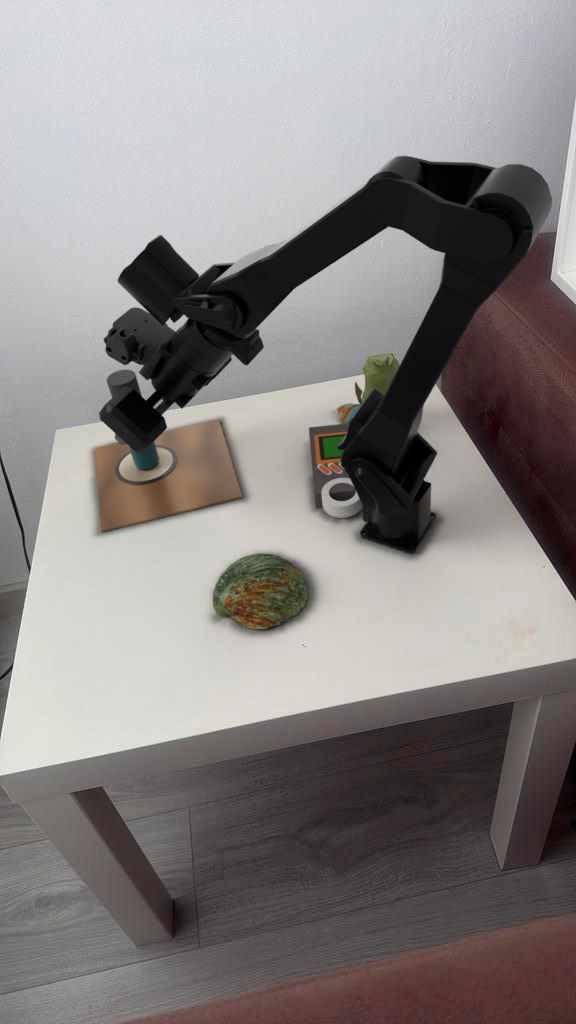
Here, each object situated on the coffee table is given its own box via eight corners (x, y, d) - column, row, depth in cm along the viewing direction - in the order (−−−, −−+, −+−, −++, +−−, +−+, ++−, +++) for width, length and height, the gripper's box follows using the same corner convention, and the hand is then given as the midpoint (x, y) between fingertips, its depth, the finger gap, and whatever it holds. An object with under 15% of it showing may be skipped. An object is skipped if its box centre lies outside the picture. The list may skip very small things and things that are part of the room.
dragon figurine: (397, 438, 91) (388, 384, 94) (343, 432, 89) (335, 377, 92) (375, 463, 97) (367, 412, 100) (323, 458, 94) (317, 406, 98)
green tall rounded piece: (366, 438, 94) (363, 370, 87) (359, 415, 98) (355, 348, 91) (409, 432, 94) (409, 363, 87) (401, 408, 98) (400, 341, 91)
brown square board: (219, 420, 101) (218, 418, 100) (242, 497, 88) (241, 494, 88) (95, 449, 99) (94, 446, 99) (101, 532, 86) (100, 529, 86)
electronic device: (315, 507, 82) (308, 423, 92) (317, 525, 84) (310, 441, 94) (376, 500, 81) (361, 417, 92) (376, 519, 83) (362, 435, 94)
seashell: (318, 577, 71) (222, 617, 69) (323, 607, 74) (231, 646, 72) (280, 522, 79) (192, 556, 77) (286, 551, 81) (201, 584, 79)
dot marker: (159, 470, 93) (133, 383, 84) (133, 474, 93) (104, 386, 84) (162, 454, 96) (136, 367, 87) (136, 457, 96) (108, 371, 87)
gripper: (189, 255, 82) (134, 333, 93) (85, 338, 70) (38, 415, 82) (261, 328, 84) (199, 395, 95) (173, 420, 72) (114, 483, 84)
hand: (140, 418), depth 89 cm, fingers open, 9 cm apart
